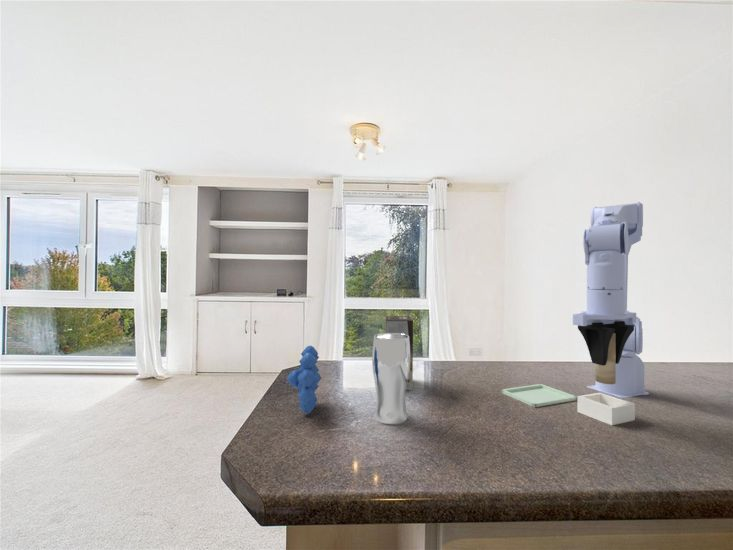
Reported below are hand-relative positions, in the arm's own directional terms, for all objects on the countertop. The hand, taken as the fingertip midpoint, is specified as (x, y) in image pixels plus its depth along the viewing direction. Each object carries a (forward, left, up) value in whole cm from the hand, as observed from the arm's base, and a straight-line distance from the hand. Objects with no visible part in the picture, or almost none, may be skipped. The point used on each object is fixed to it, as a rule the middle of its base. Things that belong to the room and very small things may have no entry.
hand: (605, 363), depth 61 cm
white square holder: (0, 0, -10) cm, 10 cm away
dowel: (0, 0, -3) cm, 3 cm away
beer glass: (+37, -14, -10) cm, 41 cm away
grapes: (+51, -23, -10) cm, 57 cm away
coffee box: (+27, -31, -10) cm, 42 cm away
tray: (+3, -12, -10) cm, 16 cm away
